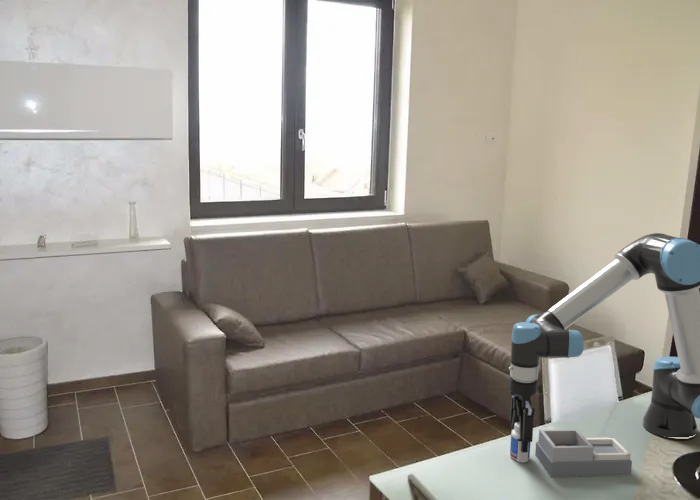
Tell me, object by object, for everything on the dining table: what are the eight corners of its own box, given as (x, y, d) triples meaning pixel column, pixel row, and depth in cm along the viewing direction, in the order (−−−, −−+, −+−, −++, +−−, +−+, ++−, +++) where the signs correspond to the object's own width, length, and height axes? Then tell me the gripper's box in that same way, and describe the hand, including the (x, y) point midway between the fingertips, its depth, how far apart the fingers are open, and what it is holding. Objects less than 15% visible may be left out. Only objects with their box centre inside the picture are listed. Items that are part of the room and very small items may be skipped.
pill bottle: (519, 463, 176) (520, 430, 175) (505, 455, 181) (507, 423, 180) (533, 459, 179) (535, 426, 177) (520, 450, 184) (522, 419, 182)
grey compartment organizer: (610, 453, 183) (612, 427, 181) (630, 475, 171) (633, 447, 169) (535, 455, 181) (536, 428, 180) (550, 476, 170) (552, 448, 168)
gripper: (500, 366, 185) (496, 441, 189) (520, 391, 167) (516, 472, 171) (525, 366, 185) (521, 441, 189) (548, 390, 167) (543, 472, 171)
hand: (518, 456), depth 180 cm, fingers closed on pill bottle, 5 cm apart
